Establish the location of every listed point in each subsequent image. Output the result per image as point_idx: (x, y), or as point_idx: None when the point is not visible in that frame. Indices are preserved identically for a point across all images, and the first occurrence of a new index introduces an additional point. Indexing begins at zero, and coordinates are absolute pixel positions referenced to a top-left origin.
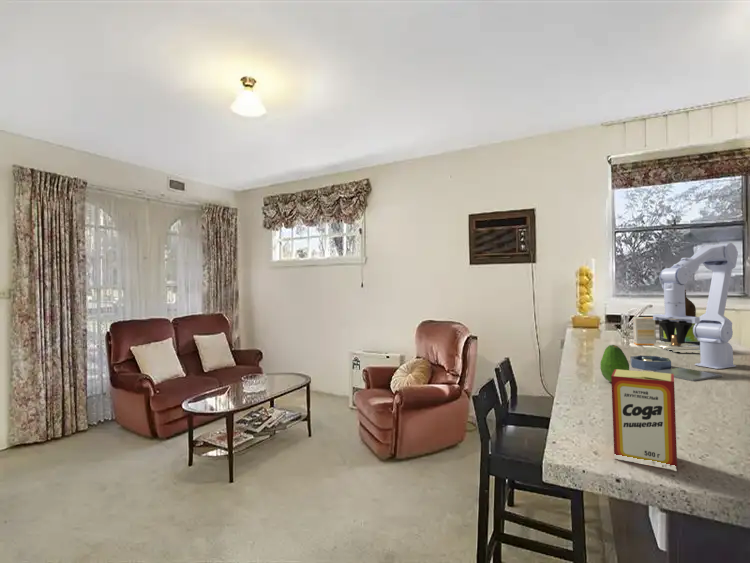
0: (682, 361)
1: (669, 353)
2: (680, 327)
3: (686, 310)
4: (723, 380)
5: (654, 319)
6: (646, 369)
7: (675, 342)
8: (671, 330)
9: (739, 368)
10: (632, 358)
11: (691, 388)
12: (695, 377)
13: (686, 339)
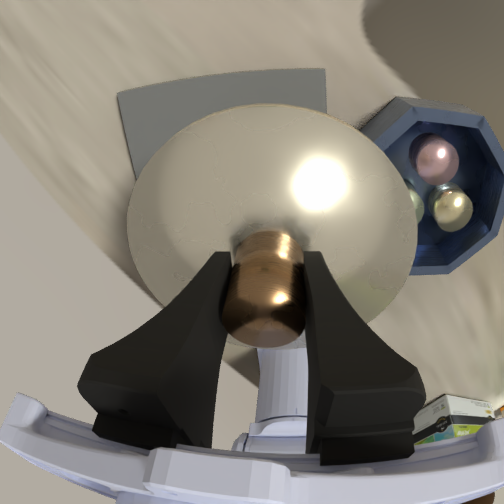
0: (395, 346)
1: (460, 385)
2: (112, 345)
3: (467, 501)
4: (114, 207)
5: (501, 423)
6: (391, 103)
7: (247, 251)
8: (311, 360)
9: (246, 371)
10: (489, 134)
11: (46, 8)
12: (142, 131)
13: (433, 439)
